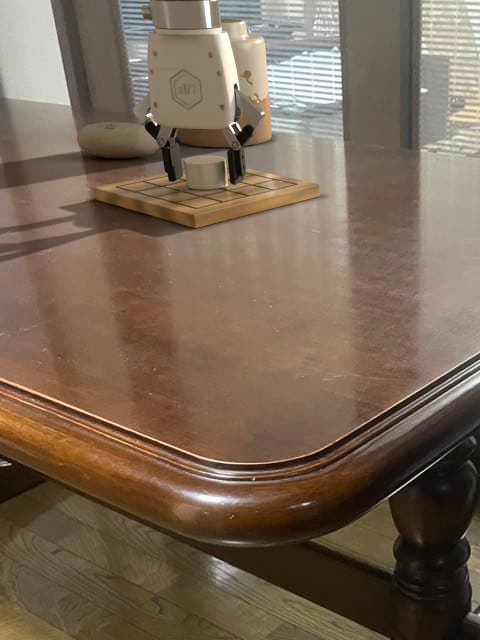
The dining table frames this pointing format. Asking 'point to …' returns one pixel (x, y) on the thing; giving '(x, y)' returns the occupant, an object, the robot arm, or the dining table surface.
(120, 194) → the board
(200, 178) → the cylinder
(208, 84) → the robot arm
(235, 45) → the vase
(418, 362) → the dining table surface
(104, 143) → the stone
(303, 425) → the dining table surface
